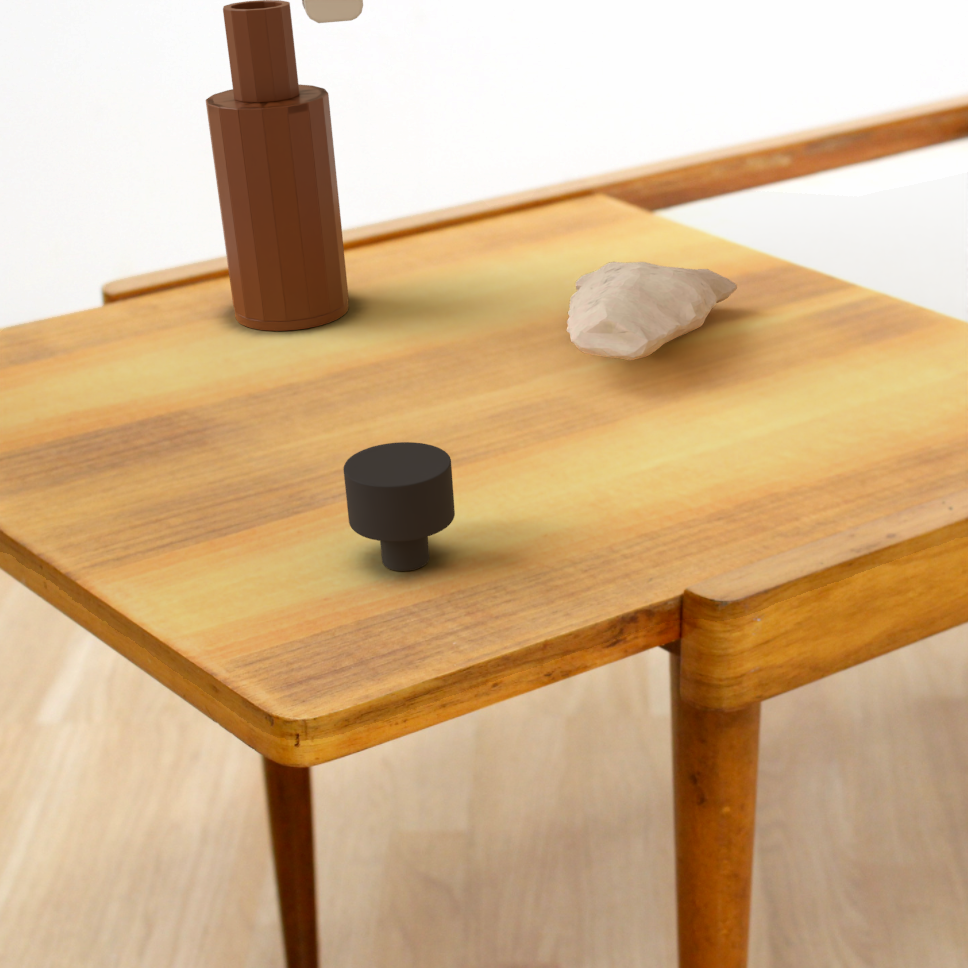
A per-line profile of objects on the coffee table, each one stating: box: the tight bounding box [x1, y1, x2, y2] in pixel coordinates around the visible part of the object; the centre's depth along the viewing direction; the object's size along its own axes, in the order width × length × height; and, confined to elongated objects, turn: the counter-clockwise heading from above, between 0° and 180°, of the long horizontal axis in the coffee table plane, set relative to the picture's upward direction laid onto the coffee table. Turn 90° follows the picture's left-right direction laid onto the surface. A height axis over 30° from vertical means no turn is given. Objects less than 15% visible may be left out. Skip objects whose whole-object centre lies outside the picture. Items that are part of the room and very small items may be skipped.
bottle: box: [205, 0, 350, 332], centre depth 91 cm, size 7×7×18 cm
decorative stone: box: [566, 261, 738, 361], centre depth 87 cm, size 10×4×15 cm
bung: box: [343, 441, 456, 572], centre depth 64 cm, size 4×4×4 cm
